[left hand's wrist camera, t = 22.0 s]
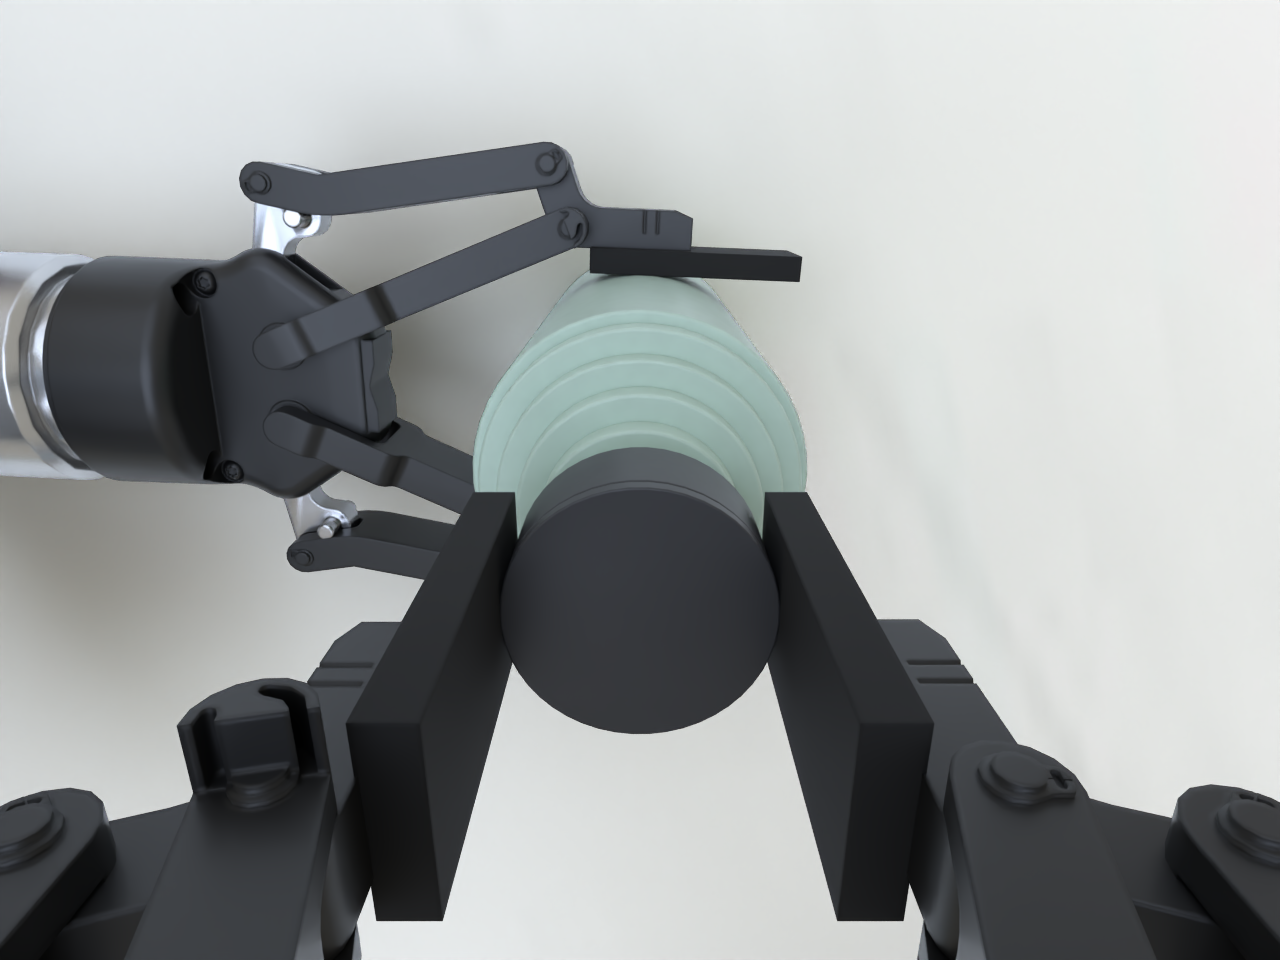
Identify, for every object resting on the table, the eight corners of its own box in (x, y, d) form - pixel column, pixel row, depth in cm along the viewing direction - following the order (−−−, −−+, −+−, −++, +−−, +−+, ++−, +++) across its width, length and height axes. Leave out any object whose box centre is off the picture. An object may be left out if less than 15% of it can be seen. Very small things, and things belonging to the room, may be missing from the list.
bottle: (722, 240, 31) (862, 325, 12) (744, 428, 34) (888, 756, 14) (527, 272, 32) (344, 407, 12) (565, 456, 35) (465, 810, 15)
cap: (807, 591, 15) (831, 651, 13) (609, 704, 16) (605, 776, 14) (674, 396, 13) (681, 431, 11) (468, 532, 14) (441, 585, 12)
